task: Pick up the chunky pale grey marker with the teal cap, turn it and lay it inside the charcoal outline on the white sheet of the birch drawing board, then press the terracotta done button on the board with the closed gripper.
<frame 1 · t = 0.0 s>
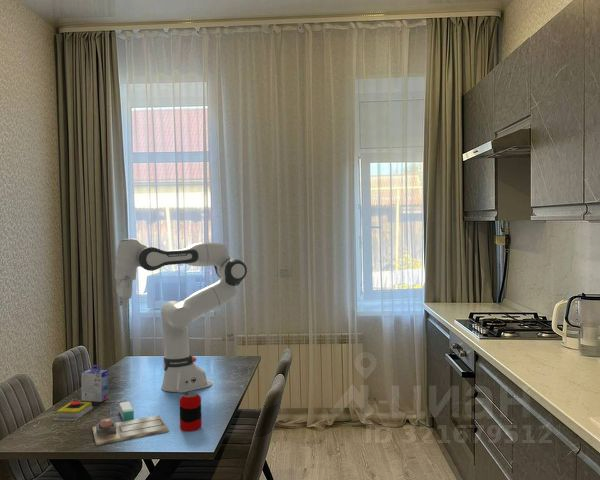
hand: (122, 306, 223), 39 cm above the table, tool pointing down, fingers open, 8 cm apart
done button: (106, 424, 179), point 3 cm above the table, slide at 0.0 cm
drawing board: (130, 430, 183), on the table
marker: (126, 416, 198), on the table
emergency button: (74, 415, 201), on the table
soda can: (190, 428, 185), on the table
ink cartridge box: (95, 400, 218), on the table
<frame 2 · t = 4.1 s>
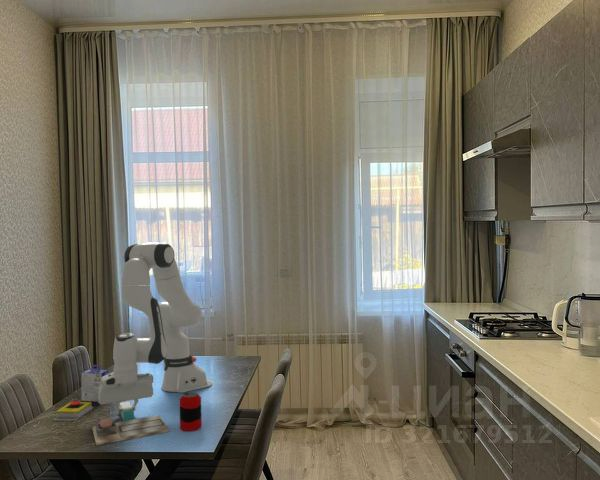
hand: (126, 411, 198), 2 cm above the table, tool pointing down, fingers closed on marker, 4 cm apart
marker: (126, 415, 198), on the table, touching gripper
everything else where it was.
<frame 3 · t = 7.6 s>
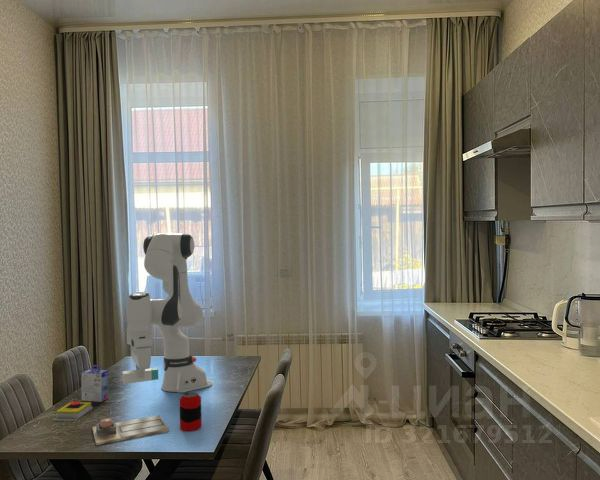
hand: (140, 376, 185), 19 cm above the table, tool pointing down, fingers closed on marker, 4 cm apart
marker: (140, 380, 185), point 17 cm above the table, touching gripper
everything else where it was.
when the fingers open (4 cm above the table, at t = 11.0 s): marker drops 1 cm, resting on drawing board.
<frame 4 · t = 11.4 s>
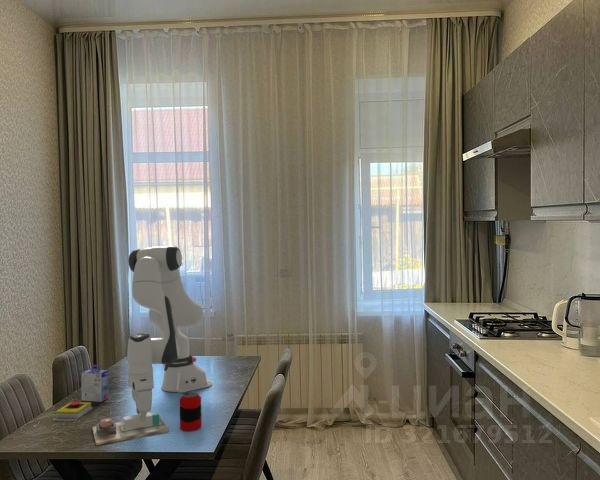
hand: (141, 417, 185), 4 cm above the table, tool pointing down, fingers open, 7 cm apart
marker: (141, 425, 185), point 1 cm above the table, touching drawing board
everything else where it was.
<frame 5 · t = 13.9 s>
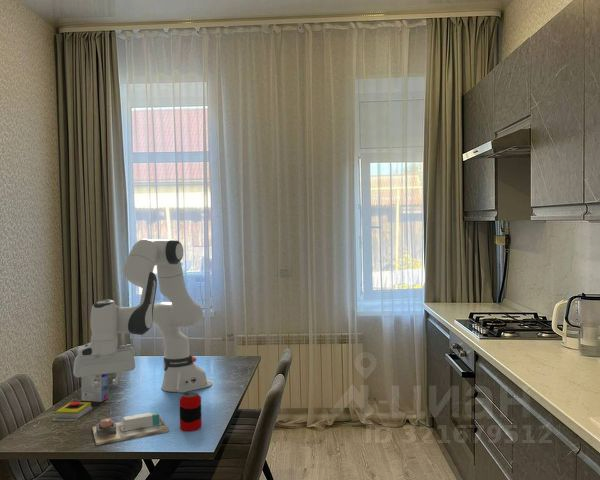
hand: (105, 386, 179), 17 cm above the table, tool pointing down, fingers open, 5 cm apart
nothing on the table moved.
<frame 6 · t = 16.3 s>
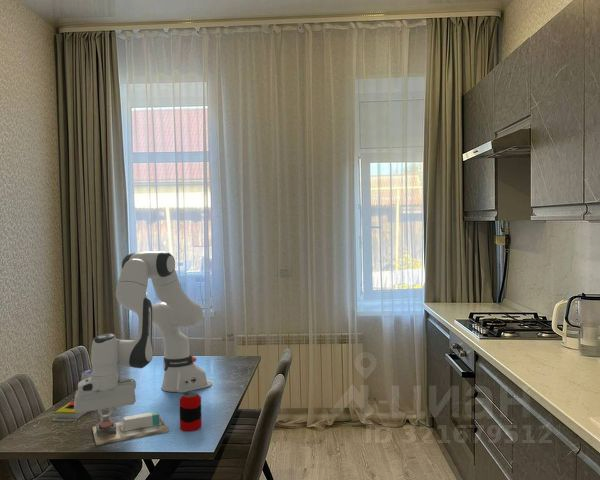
hand: (105, 420, 179), 5 cm above the table, tool pointing down, fingers closed, pressing on done button
done button: (106, 424, 179), point 3 cm above the table, slide at 0.0 cm, touching gripper
everything else where it was.
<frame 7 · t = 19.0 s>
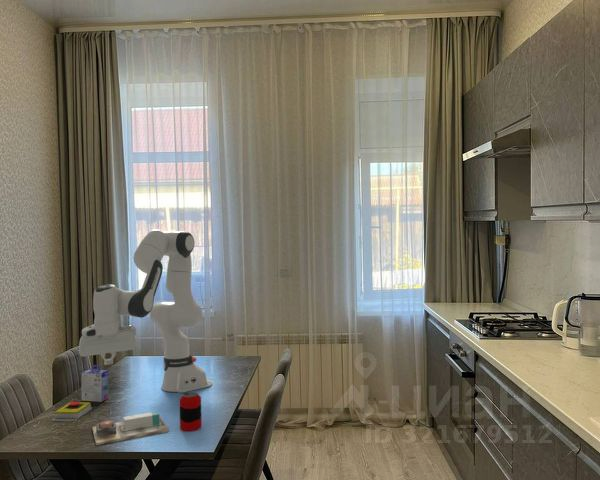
hand: (108, 364, 193), 21 cm above the table, tool pointing down, fingers closed
done button: (106, 427, 179), point 3 cm above the table, slide at 0.9 cm
everything else where it was.
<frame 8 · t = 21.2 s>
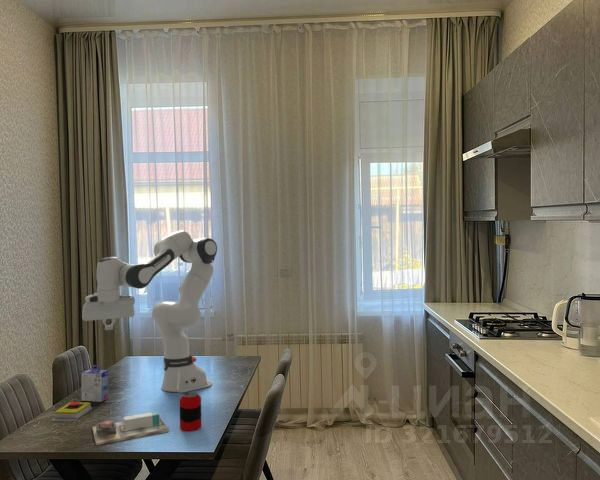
hand: (109, 329, 211), 31 cm above the table, tool pointing down, fingers closed
nothing on the table moved.
at the end: marker 0.1 cm from the target spot on the drawing board, point 1.0 cm above the drawing board's base; done button slide at 0.9 cm; the gripper is holding nothing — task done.
